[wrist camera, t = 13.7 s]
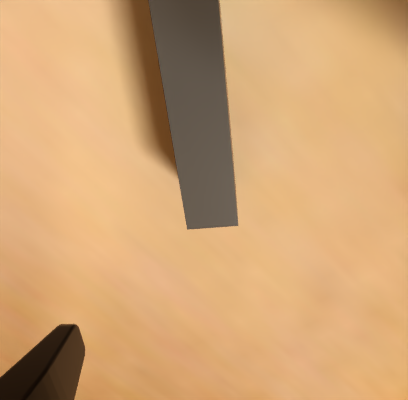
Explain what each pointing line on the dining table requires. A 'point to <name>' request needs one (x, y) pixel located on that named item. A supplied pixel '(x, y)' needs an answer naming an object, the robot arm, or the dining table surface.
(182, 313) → the dining table surface
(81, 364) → the robot arm
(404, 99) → the dining table surface
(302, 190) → the dining table surface
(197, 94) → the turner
